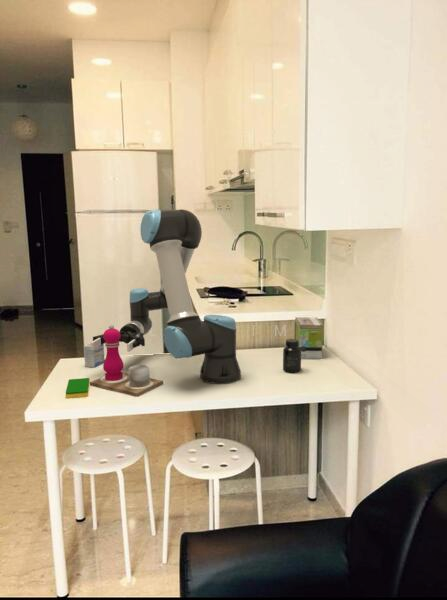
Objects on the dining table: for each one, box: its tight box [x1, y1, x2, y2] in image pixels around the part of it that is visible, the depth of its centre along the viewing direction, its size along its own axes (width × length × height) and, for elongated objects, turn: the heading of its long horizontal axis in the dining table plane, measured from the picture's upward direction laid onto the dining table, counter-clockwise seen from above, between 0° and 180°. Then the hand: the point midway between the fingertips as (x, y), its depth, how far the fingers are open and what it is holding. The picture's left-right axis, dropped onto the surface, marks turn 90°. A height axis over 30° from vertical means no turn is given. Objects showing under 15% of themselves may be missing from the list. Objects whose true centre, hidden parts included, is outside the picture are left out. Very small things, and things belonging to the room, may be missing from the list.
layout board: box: [89, 364, 164, 398], centre depth 180 cm, size 22×14×7 cm, turn 59°
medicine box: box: [83, 343, 106, 368], centre depth 204 cm, size 8×4×9 cm, turn 162°
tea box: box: [294, 316, 324, 360], centre depth 215 cm, size 15×10×15 cm
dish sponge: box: [65, 377, 91, 399], centre depth 176 cm, size 7×14×2 cm, turn 12°
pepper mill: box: [102, 323, 125, 381], centre depth 182 cm, size 7×7×20 cm
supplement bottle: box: [282, 338, 302, 374], centre depth 194 cm, size 7×7×12 cm
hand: (110, 347), depth 180 cm, fingers open, 13 cm apart
